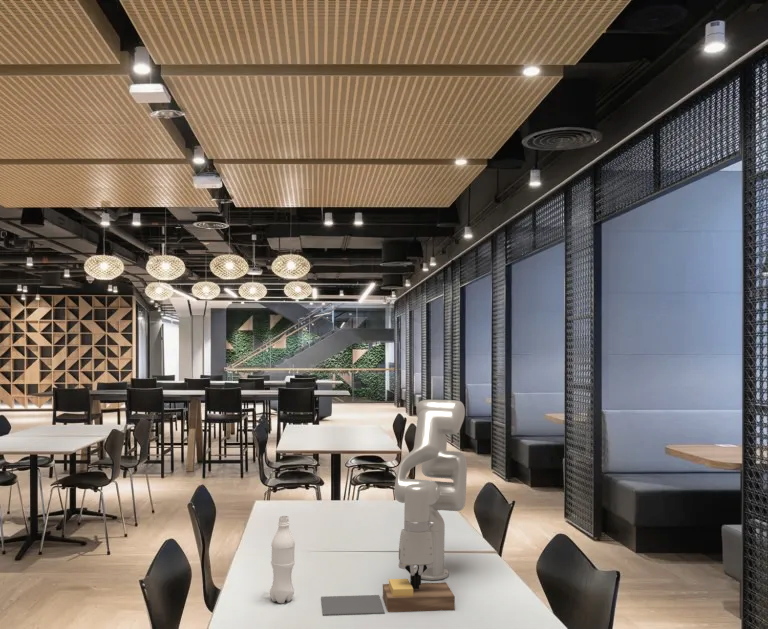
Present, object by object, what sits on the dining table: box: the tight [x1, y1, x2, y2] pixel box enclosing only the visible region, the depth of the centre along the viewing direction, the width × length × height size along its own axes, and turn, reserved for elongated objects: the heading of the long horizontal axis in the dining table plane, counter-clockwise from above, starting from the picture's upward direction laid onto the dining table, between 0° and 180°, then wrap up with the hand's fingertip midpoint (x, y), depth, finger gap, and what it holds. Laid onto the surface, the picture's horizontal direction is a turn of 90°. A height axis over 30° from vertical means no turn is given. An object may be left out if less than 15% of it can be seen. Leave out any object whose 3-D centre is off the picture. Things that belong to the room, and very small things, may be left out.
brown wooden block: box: [382, 582, 456, 613], centre depth 201 cm, size 12×20×4 cm, turn 97°
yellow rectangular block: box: [388, 578, 413, 596], centre depth 200 cm, size 9×6×2 cm, turn 8°
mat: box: [320, 594, 386, 617], centre depth 198 cm, size 14×18×1 cm
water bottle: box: [269, 515, 296, 604], centre depth 202 cm, size 7×7×25 cm
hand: (415, 587), depth 201 cm, fingers closed
